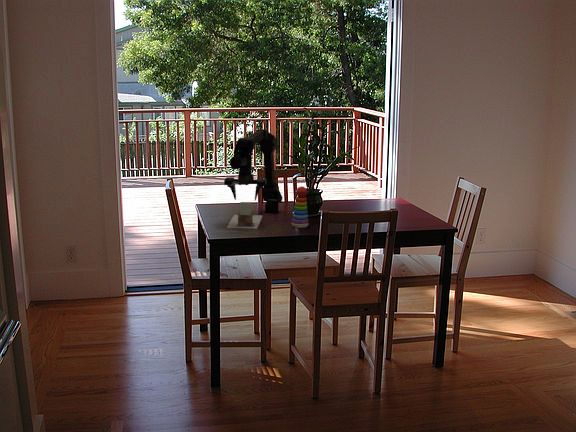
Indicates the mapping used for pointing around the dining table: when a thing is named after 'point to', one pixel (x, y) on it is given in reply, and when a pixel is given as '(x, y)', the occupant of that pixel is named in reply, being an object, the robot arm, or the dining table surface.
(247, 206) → the sage block
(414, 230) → the dining table surface
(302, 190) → the stacking toy
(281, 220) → the dining table surface
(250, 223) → the walnut block
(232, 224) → the build board
